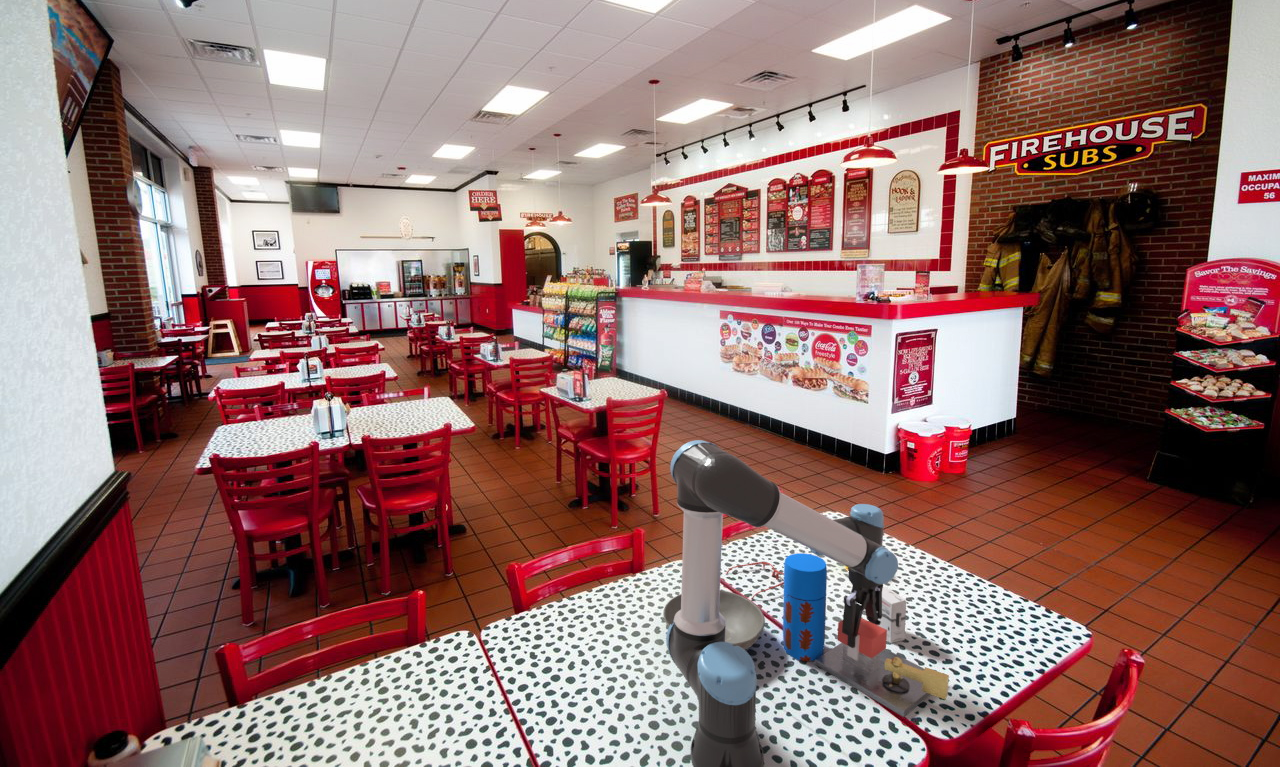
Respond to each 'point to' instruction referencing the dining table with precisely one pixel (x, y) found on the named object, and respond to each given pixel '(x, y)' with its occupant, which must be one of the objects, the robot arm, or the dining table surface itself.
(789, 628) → the thermos
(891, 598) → the ink box
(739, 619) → the bowl
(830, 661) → the panel
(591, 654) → the dining table surface
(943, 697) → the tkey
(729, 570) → the red eyeglasses
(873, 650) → the cover
